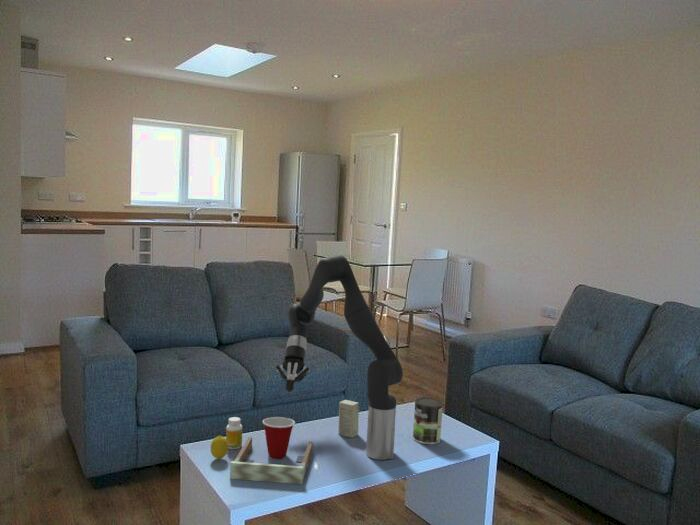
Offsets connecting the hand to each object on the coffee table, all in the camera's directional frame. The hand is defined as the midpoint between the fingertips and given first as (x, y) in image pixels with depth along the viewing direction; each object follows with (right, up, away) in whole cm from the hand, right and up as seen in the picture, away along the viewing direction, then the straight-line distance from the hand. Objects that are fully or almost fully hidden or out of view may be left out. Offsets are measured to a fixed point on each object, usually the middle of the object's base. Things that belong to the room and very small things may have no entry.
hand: (289, 390), depth 219 cm
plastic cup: (-2, -18, -18) cm, 26 cm away
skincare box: (+21, -17, +3) cm, 27 cm away
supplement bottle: (-18, -17, -13) cm, 27 cm away
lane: (-3, -18, -25) cm, 31 cm away
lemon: (-21, -17, -24) cm, 36 cm away
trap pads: (-2, -18, -23) cm, 30 cm away
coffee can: (+50, -18, +2) cm, 54 cm away
